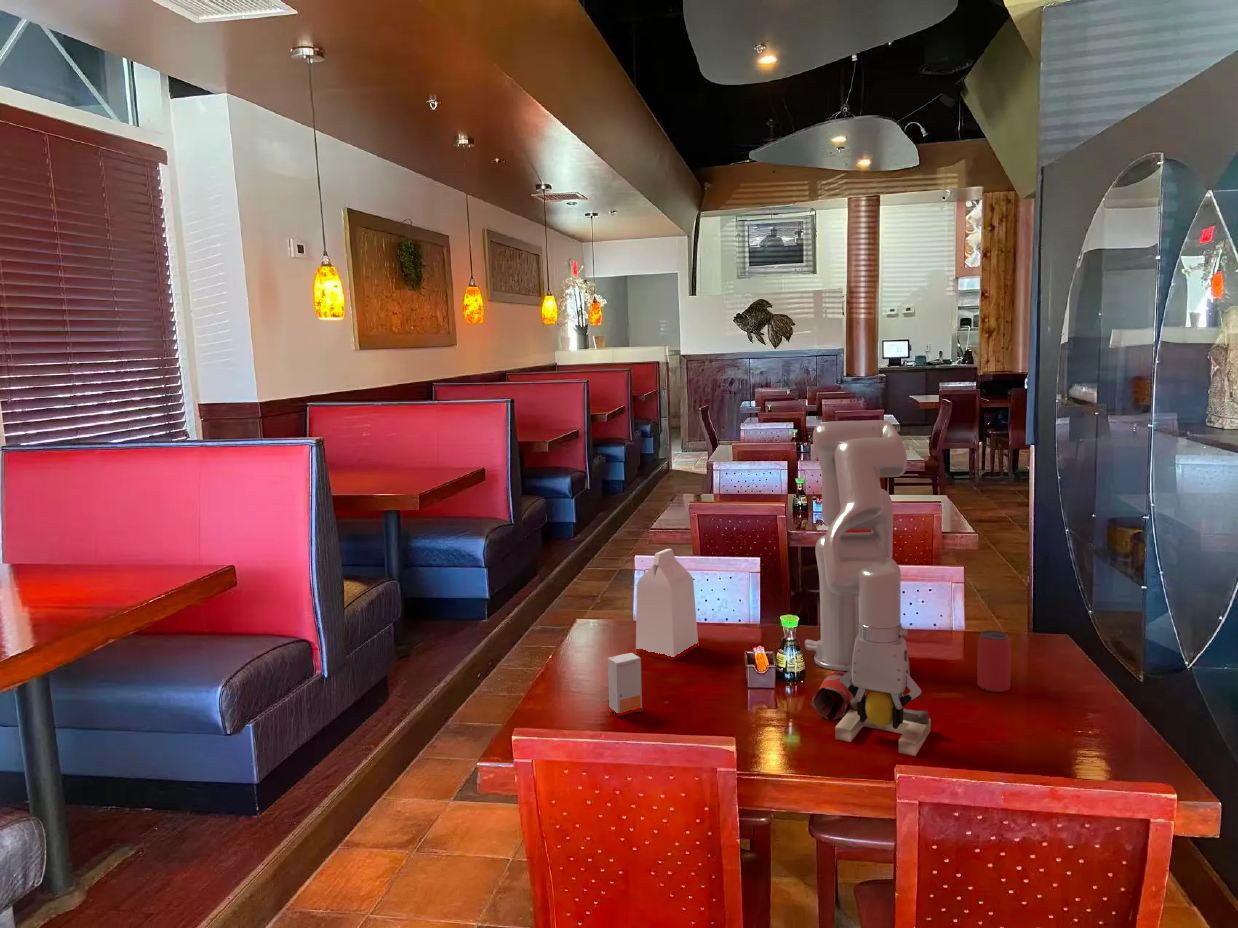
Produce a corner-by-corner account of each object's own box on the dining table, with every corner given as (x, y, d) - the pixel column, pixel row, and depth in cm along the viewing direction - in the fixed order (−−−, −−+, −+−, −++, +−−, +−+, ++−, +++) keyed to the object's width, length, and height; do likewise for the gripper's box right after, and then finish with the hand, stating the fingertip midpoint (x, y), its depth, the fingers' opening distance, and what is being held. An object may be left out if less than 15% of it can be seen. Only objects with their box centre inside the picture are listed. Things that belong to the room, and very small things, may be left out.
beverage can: (858, 700, 179) (857, 670, 178) (846, 722, 168) (846, 691, 167) (824, 695, 182) (824, 666, 181) (811, 717, 171) (810, 686, 171)
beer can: (1013, 693, 178) (1014, 639, 177) (980, 692, 180) (981, 638, 178) (1005, 681, 185) (1006, 629, 183) (974, 680, 186) (974, 629, 185)
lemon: (888, 720, 163) (887, 681, 162) (899, 732, 158) (899, 692, 157) (860, 722, 163) (860, 683, 162) (871, 734, 157) (871, 694, 156)
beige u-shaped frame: (834, 738, 161) (834, 718, 161) (854, 715, 171) (853, 695, 171) (915, 756, 153) (915, 734, 152) (931, 730, 163) (931, 710, 162)
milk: (661, 639, 223) (657, 544, 220) (698, 646, 216) (695, 548, 213) (635, 653, 213) (631, 553, 210) (673, 661, 206) (670, 558, 203)
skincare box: (618, 718, 175) (615, 663, 173) (609, 711, 178) (606, 657, 177) (643, 711, 177) (641, 657, 176) (633, 704, 181) (631, 651, 180)
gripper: (931, 632, 156) (931, 724, 158) (841, 620, 166) (842, 707, 168) (921, 644, 150) (921, 740, 152) (829, 631, 159) (830, 721, 162)
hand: (880, 721), depth 160 cm, fingers closed on lemon, 5 cm apart
